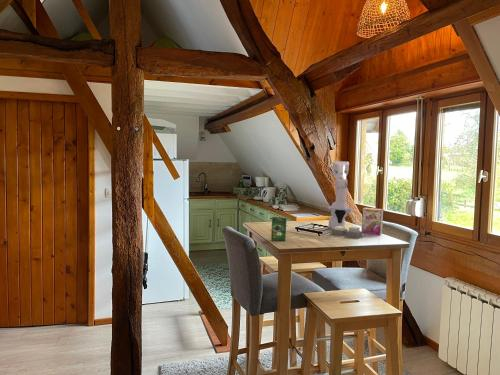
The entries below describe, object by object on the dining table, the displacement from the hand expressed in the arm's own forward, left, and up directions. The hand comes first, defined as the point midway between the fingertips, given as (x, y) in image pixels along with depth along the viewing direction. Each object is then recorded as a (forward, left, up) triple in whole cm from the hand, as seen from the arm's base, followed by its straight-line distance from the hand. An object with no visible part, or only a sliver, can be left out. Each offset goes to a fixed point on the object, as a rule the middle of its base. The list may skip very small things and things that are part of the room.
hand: (339, 223), depth 229 cm
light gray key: (+9, 0, -4) cm, 10 cm away
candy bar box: (+13, +16, -8) cm, 22 cm away
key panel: (+5, 0, -8) cm, 9 cm away
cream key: (0, 0, -5) cm, 5 cm away
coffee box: (-21, -32, -8) cm, 39 cm away
